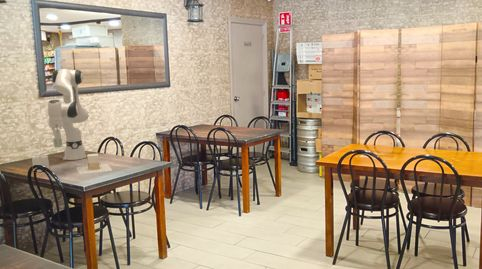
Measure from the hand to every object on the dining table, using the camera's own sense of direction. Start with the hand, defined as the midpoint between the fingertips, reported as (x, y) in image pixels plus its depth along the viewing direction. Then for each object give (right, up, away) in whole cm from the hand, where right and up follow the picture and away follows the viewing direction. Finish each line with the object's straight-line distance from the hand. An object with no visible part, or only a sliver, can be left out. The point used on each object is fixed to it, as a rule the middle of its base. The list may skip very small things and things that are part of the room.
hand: (58, 144), depth 324 cm
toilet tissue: (-18, -19, +15) cm, 30 cm away
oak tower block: (+21, -18, +12) cm, 30 cm away
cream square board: (+21, -18, +12) cm, 30 cm away
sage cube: (0, -2, 0) cm, 2 cm away
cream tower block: (+21, -13, +11) cm, 27 cm away
